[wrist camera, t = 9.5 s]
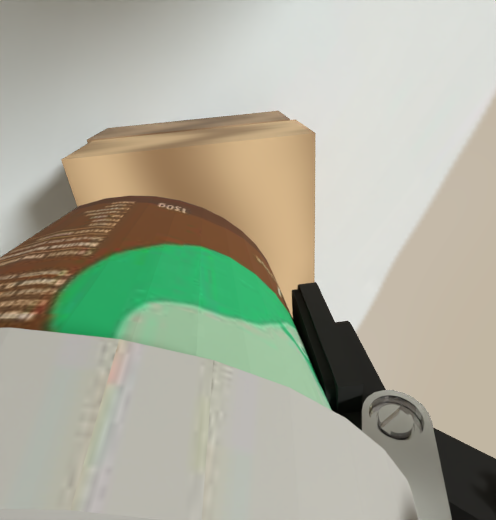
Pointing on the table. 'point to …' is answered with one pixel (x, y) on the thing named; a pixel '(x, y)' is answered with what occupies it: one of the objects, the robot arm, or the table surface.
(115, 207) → the food container
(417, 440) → the robot arm
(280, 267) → the oak slab
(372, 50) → the table surface
